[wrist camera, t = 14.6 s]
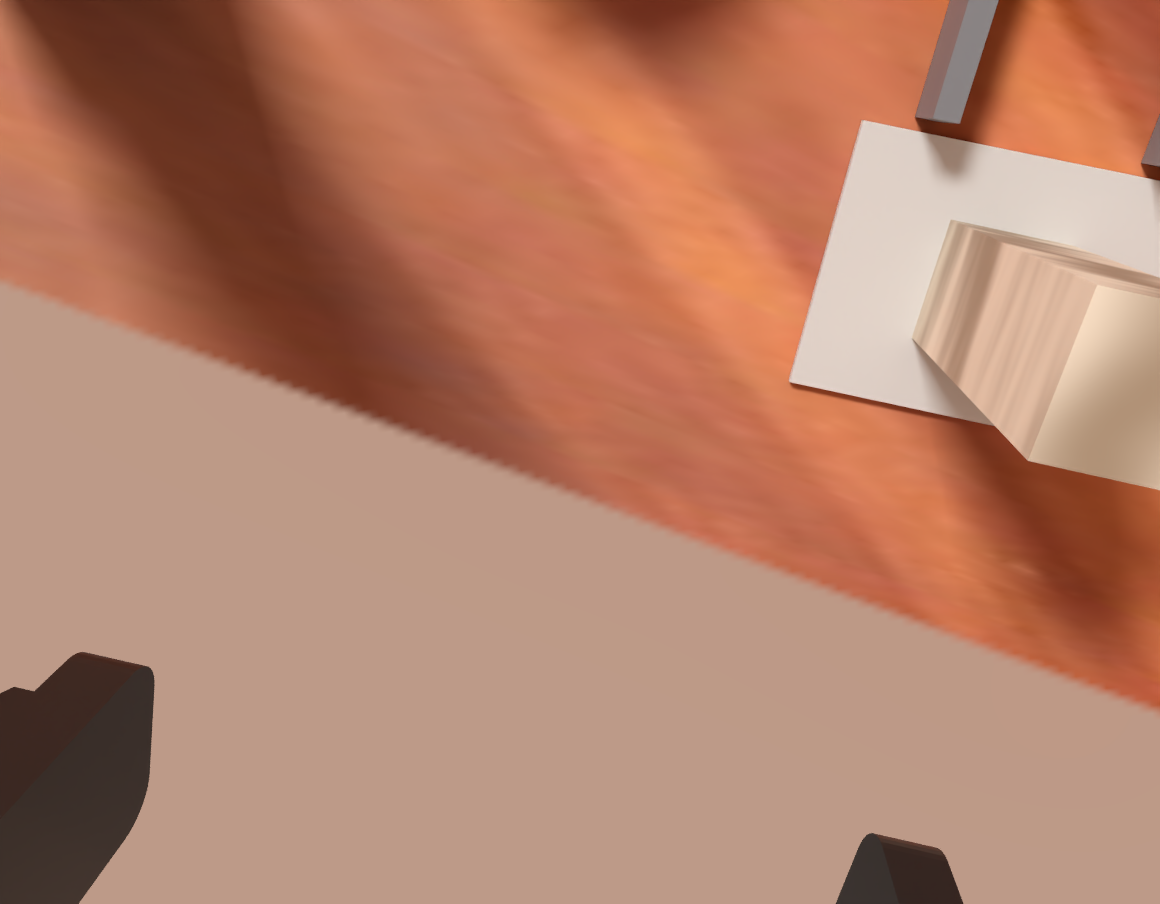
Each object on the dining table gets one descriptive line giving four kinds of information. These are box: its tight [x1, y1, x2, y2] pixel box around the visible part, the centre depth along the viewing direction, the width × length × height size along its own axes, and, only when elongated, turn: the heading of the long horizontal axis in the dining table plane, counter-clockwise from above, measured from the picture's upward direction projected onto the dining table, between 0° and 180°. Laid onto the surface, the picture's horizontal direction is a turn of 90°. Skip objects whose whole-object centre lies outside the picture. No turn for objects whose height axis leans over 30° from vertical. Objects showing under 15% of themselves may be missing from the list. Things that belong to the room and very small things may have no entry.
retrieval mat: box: [789, 120, 1160, 426], centre depth 40 cm, size 14×11×1 cm
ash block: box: [912, 220, 1160, 490], centre depth 33 cm, size 5×5×15 cm
